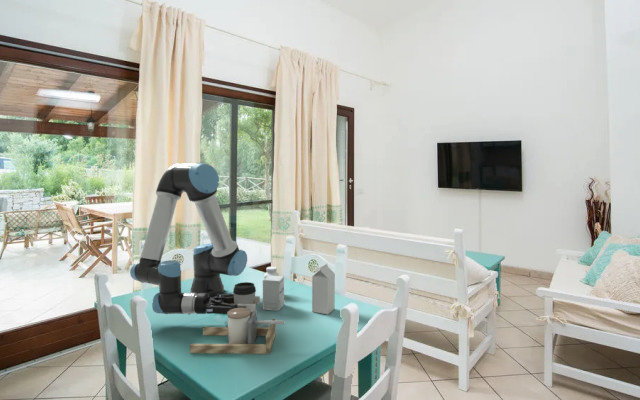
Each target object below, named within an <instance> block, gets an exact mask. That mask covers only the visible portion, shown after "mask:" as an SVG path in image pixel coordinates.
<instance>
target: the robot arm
mask: <svg viewBox="0 0 640 400" xmlns="http://www.w3.org/2000/svg"><path fill="white" fill-rule="evenodd" d="M219 181H220V177H219V174H218V172H217V170H216V169H215V168H214V166H212V165H210V164H208V163H202V162H196V163H195V162H194V163H193V162H192V163H190V162H189V163H188V162H187V163H184V162H183V163H181V162H180V163H175V164H173V165H171V166H170V167H168V168H167V169H166V170H165V172H163V174H162V176H161V178H160V179H159V181H158V185H157V187H156V191H155V194H156V201H155V204H154V208H153V212H152V214H151V218H150V222H149V224H148V225H149V226H148V228H147V233H146V236H145V239H144V243H143V247H142V249H141V254H140V258H139V260H138V261H137V262H134V264H133V265H132V266H131V268H130V270H129V272H130V277H131V278H132V279H133V281H136V282H137V281H138V282H140V283H142V284H144V283H145V284H151V285H154V286H155V285H156V286H158V288H159V292H157V293H155V294H154V296H153V299H152V304H151V306H152V307H151V308H152V311H153V312H154V313H156V314H163V315H174V314H176V315H177V314H181V315H188V316H189V315H194V314H196V315H206V314H207V315H208V314H210V315H211V314H217V315H227V312H228V311H229V310H231V309H234V308H248V309H250V312H253V311H254V310H257V304H261V296H260V295H255V304H238V305H234V293H226V294H223V293H224V292H225V289H224V288H225V285H224V284H223V280H222V277H221V275H226V276H229V277H230V276H231V277H232V276H233V277H236V276H239V275H241V274H242V273H243V272H244V270H245V269H246V267H247V265H248V264H247V263H248V254H247V252H246V251H245V250H243V249H240V248H239V245H238V243H237V242H236V241H235V240H233V239H232V237H231V234H230V232H229V228H228V225H227V224H226V221H225V218H224V215H223V213H222V210H221V208H220V204H219V202H218V199H217V197H216V194H217V192H218V188H219V185H220V184H219ZM183 193H186V196H187V198H188V200H189V201H190V202H192V203H194V204H195V206H196V209H197V212H198V214H199V216H200V219H201V222H202V224H203V227H204V229H205V231H206V234H207V237H208V239H209V240H210V243H205V244H200V245H199V244H198V245H196V246H195V247H194V248H193V254H192V256H193V257H192V258H193V261H192V262H193V280H192V283H191V287H190V290H189V291H190V292H182V270H181V269H182V268H181V263H180V261H178V260H171V259H168V260H163V261H162V259H163V255H164V250H165V247H166V243H167V241H168V236H169V232H170V228H171V225H172V221H173V218H174V217H173V216H174V214H175V210H176V206H177V204H178V201H179V200H180V199H181V198H182V194H183Z"/></svg>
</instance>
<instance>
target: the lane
mask: <svg viewBox="0 0 640 400" xmlns="http://www.w3.org/2000/svg"><path fill="white" fill-rule="evenodd" d="M271 320H272V321H276V318H271ZM202 336H228V326H203V328H202ZM257 336H258V337H259V336H262V337H264V336H265V343H254V344H229V343H191V344H189V353H190V354H241V355H242V354H248V355H249V354H252V355H253V354H259V355H261V354H271V352H272V351H271V350H272V347H273V344H274V341H275V336H276V324H269V326H267V327H266V326H257Z"/></svg>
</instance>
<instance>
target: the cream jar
mask: <svg viewBox="0 0 640 400" xmlns="http://www.w3.org/2000/svg"><path fill="white" fill-rule="evenodd" d="M226 316H227V322H228V323H227V327H228V335H227V337H228V338H227V339H228V344H248V321H249V319H250V309H248V308H234V309H231V310H229V311H228V312H227V314H226Z"/></svg>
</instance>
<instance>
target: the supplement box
mask: <svg viewBox="0 0 640 400" xmlns="http://www.w3.org/2000/svg"><path fill="white" fill-rule="evenodd" d="M284 305H285V276H282V275H279V276H267V277H266V278H265V279H263V280H262V310H264V311H275V312H278V311H280V310H281V309H282V308H283V306H284Z"/></svg>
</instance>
